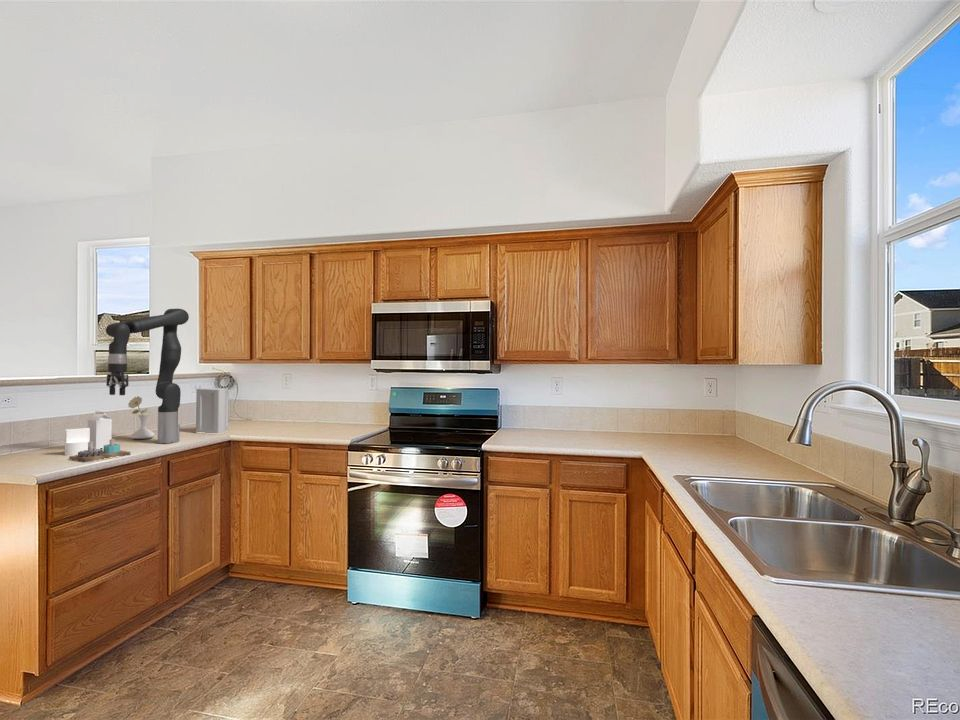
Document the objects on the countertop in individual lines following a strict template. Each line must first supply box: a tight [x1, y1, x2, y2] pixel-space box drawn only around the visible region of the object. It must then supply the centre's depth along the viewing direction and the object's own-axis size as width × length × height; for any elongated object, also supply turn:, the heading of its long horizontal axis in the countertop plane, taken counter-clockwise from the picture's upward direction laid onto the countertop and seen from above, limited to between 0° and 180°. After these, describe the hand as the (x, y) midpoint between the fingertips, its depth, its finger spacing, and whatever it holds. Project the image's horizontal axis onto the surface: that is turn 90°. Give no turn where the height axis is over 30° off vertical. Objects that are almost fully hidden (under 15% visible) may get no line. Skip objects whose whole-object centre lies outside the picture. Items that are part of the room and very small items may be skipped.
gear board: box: [68, 438, 131, 463], centre depth 210 cm, size 18×13×8 cm
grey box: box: [195, 387, 230, 433], centre depth 289 cm, size 19×15×28 cm
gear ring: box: [102, 443, 121, 454], centre depth 214 cm, size 6×6×4 cm
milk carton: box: [87, 410, 113, 450], centre depth 232 cm, size 7×7×19 cm
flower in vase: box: [127, 396, 156, 440], centre depth 262 cm, size 13×11×25 cm
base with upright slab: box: [64, 427, 90, 456], centre depth 218 cm, size 9×9×12 cm
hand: (117, 395), depth 226 cm, fingers open, 8 cm apart
